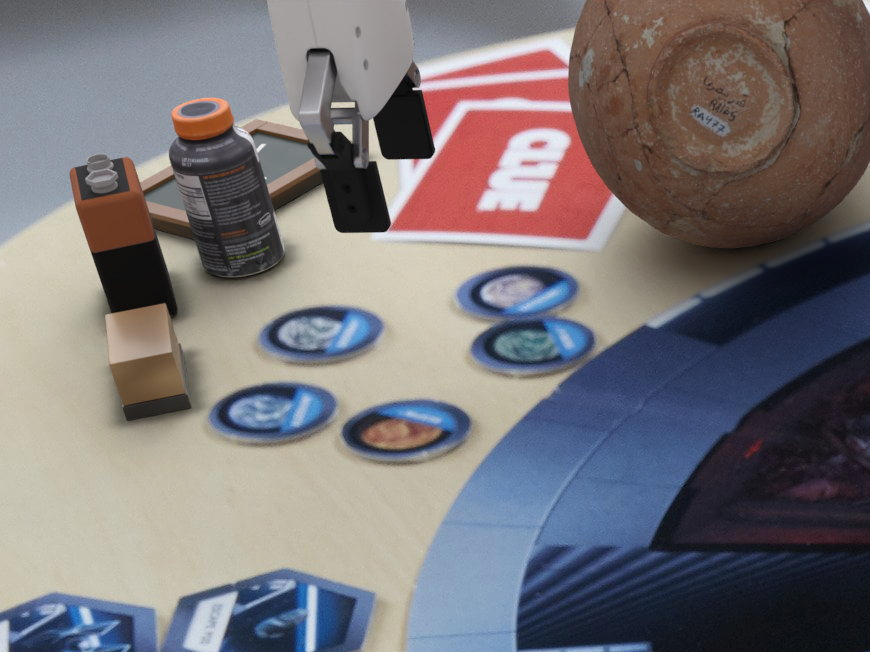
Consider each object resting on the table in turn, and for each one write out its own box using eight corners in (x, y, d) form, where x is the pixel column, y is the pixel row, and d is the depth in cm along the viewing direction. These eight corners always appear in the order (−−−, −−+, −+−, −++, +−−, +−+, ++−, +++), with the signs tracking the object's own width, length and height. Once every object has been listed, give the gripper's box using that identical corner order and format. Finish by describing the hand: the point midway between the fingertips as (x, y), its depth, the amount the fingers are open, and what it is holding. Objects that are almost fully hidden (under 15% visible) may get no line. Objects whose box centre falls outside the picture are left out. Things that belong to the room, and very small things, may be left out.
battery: (116, 330, 166) (69, 192, 159) (108, 289, 171) (62, 153, 164) (180, 317, 167) (136, 179, 160) (170, 276, 171) (127, 141, 165)
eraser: (126, 421, 156) (107, 365, 154) (121, 368, 162) (103, 314, 159) (191, 408, 157) (173, 352, 154) (184, 356, 162) (166, 301, 160)
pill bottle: (292, 239, 175) (249, 86, 167) (279, 276, 170) (235, 120, 163) (211, 246, 175) (164, 93, 167) (196, 283, 170) (148, 128, 163)
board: (215, 244, 175) (210, 228, 174) (110, 217, 179) (104, 201, 179) (363, 158, 185) (359, 142, 184) (260, 134, 189) (256, 118, 188)
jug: (500, 176, 156) (549, 115, 183) (795, 334, 162) (801, 253, 188) (642, -147, 148) (672, -161, 174) (948, 33, 154) (932, -8, 180)
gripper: (295, -162, 136) (366, 132, 148) (195, -51, 123) (281, 261, 135) (424, -166, 135) (485, 130, 147) (335, -54, 123) (410, 260, 134)
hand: (387, 193), depth 141 cm, fingers open, 9 cm apart
